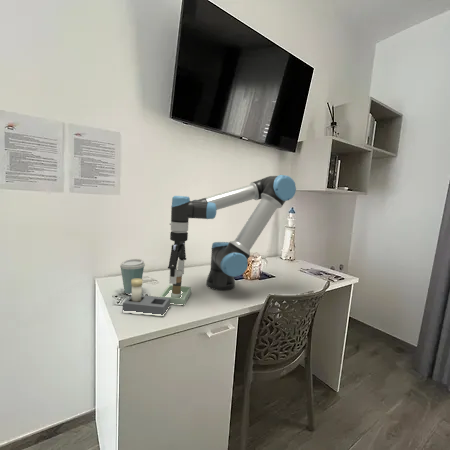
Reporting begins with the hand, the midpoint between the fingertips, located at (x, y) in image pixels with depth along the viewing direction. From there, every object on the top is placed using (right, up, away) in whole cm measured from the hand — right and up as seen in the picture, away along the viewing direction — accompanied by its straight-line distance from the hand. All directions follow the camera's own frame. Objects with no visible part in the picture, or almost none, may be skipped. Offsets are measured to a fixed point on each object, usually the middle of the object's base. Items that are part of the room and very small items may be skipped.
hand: (176, 278), depth 117 cm
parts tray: (-1, -9, +1) cm, 9 cm away
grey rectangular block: (-10, -10, -12) cm, 19 cm away
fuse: (-14, -10, -12) cm, 21 cm away
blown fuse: (-1, -8, +1) cm, 8 cm away
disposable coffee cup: (-21, -8, +4) cm, 23 cm away
